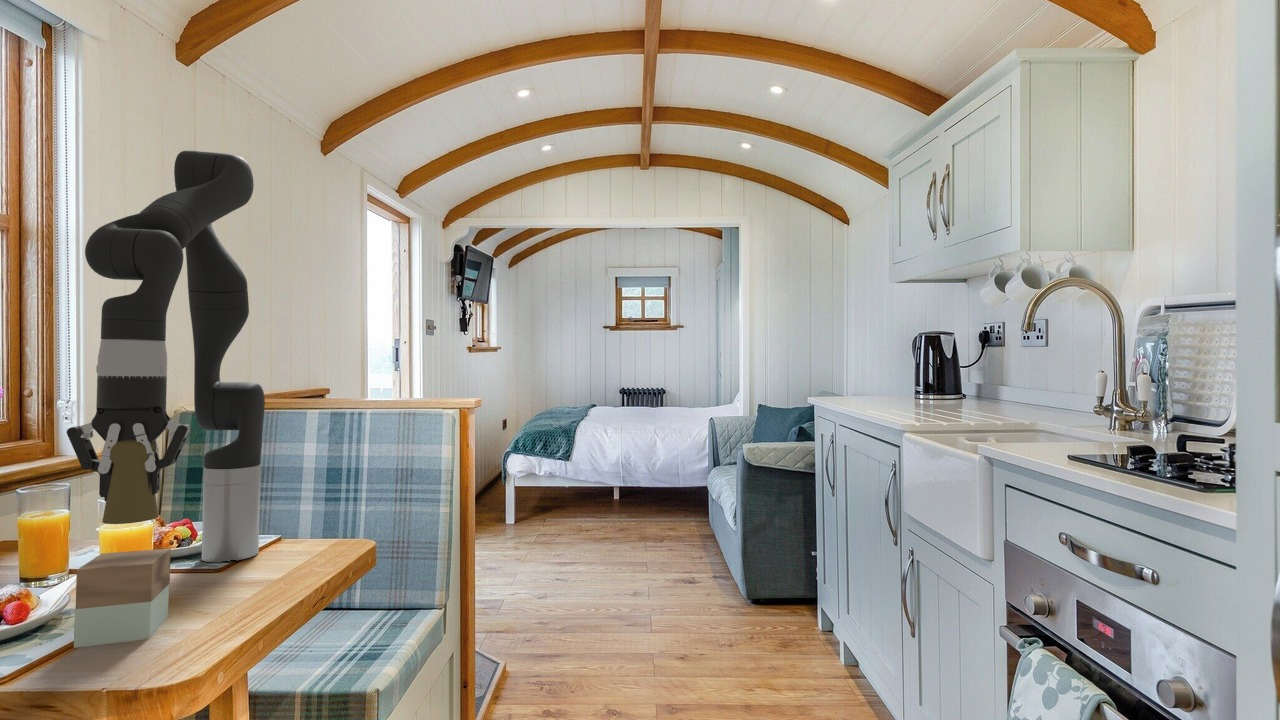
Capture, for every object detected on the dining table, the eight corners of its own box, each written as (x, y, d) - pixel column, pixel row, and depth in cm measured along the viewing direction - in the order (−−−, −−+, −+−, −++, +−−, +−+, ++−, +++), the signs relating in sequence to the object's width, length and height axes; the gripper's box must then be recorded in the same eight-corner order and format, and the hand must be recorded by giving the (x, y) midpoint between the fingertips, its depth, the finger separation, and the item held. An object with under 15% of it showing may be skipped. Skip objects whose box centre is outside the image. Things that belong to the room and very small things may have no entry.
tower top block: (100, 589, 90) (102, 553, 90) (169, 583, 93) (170, 548, 93) (75, 609, 82) (76, 569, 83) (151, 601, 85) (152, 563, 85)
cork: (127, 525, 84) (129, 441, 85) (90, 522, 86) (92, 439, 86) (169, 515, 90) (171, 437, 91) (134, 513, 92) (136, 435, 92)
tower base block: (98, 626, 90) (99, 589, 90) (167, 618, 93) (168, 583, 93) (73, 648, 82) (74, 609, 82) (149, 639, 85) (150, 601, 85)
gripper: (200, 374, 95) (197, 491, 94) (79, 373, 89) (75, 498, 89) (187, 374, 88) (184, 501, 87) (55, 373, 82) (50, 508, 82)
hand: (129, 498), depth 88 cm, fingers closed on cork, 3 cm apart
